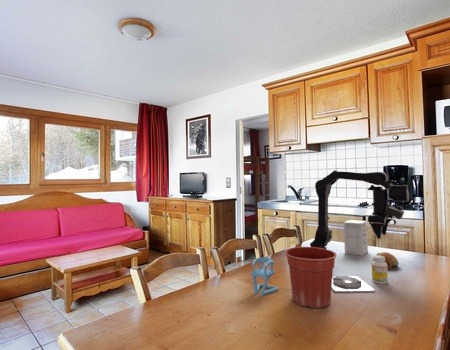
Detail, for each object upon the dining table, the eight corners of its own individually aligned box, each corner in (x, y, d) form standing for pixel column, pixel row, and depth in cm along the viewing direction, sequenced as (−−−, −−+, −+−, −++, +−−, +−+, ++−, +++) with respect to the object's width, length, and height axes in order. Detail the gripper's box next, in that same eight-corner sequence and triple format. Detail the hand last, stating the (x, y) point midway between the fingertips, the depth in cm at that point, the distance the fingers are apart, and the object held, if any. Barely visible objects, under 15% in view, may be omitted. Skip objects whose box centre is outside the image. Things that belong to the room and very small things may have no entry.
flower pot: (339, 294, 98) (337, 248, 98) (336, 316, 83) (334, 261, 83) (291, 288, 105) (290, 245, 105) (281, 307, 90) (279, 256, 90)
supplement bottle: (386, 285, 106) (385, 259, 106) (370, 282, 109) (369, 257, 109) (389, 280, 110) (388, 256, 110) (374, 278, 113) (373, 254, 113)
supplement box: (368, 252, 151) (367, 220, 151) (363, 256, 144) (362, 223, 144) (349, 249, 157) (348, 219, 157) (344, 253, 150) (343, 221, 151)
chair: (248, 293, 102) (247, 259, 102) (260, 285, 108) (259, 254, 108) (267, 298, 97) (266, 263, 97) (278, 289, 104) (277, 257, 104)
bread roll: (394, 272, 130) (390, 254, 134) (404, 268, 121) (399, 250, 124) (371, 271, 131) (368, 254, 135) (380, 268, 122) (376, 250, 125)
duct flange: (322, 278, 114) (322, 274, 114) (357, 277, 114) (357, 274, 114) (335, 292, 100) (335, 288, 100) (374, 291, 100) (374, 287, 100)
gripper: (397, 203, 110) (398, 243, 110) (406, 199, 124) (407, 235, 124) (366, 202, 117) (368, 239, 117) (378, 199, 131) (379, 232, 131)
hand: (381, 236), depth 122 cm, fingers open, 9 cm apart
